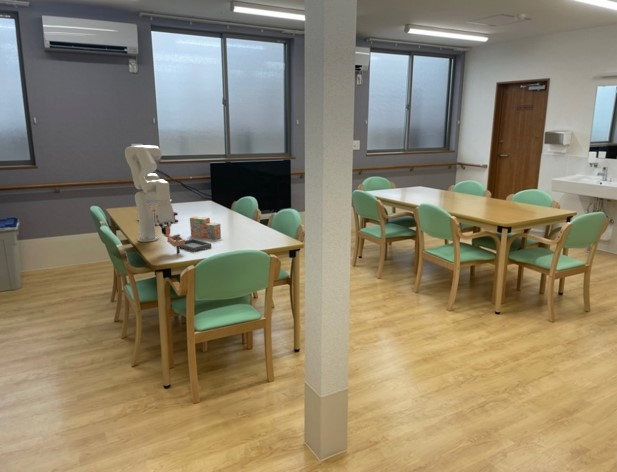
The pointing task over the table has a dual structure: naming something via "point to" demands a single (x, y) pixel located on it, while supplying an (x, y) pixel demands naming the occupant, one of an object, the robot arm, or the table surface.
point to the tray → (195, 245)
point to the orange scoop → (173, 238)
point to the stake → (177, 240)
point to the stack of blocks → (204, 228)
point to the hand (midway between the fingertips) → (166, 233)
